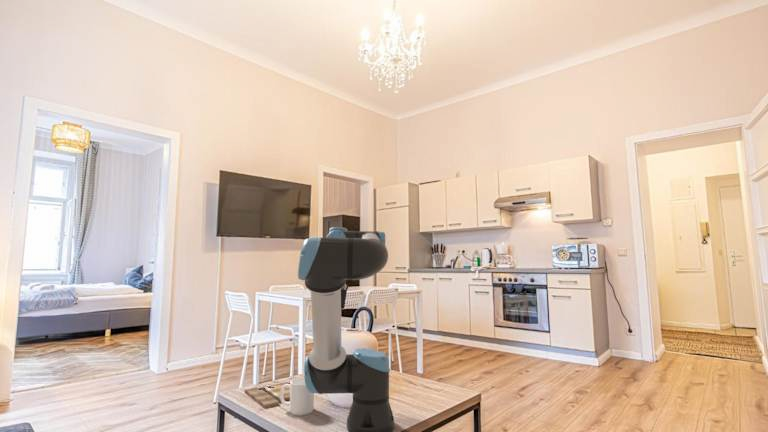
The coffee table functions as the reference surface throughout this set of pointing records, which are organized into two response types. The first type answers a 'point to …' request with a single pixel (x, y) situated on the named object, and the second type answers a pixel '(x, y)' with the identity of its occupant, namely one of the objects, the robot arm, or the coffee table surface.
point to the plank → (278, 391)
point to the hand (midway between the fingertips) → (336, 326)
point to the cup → (298, 397)
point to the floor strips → (261, 397)
